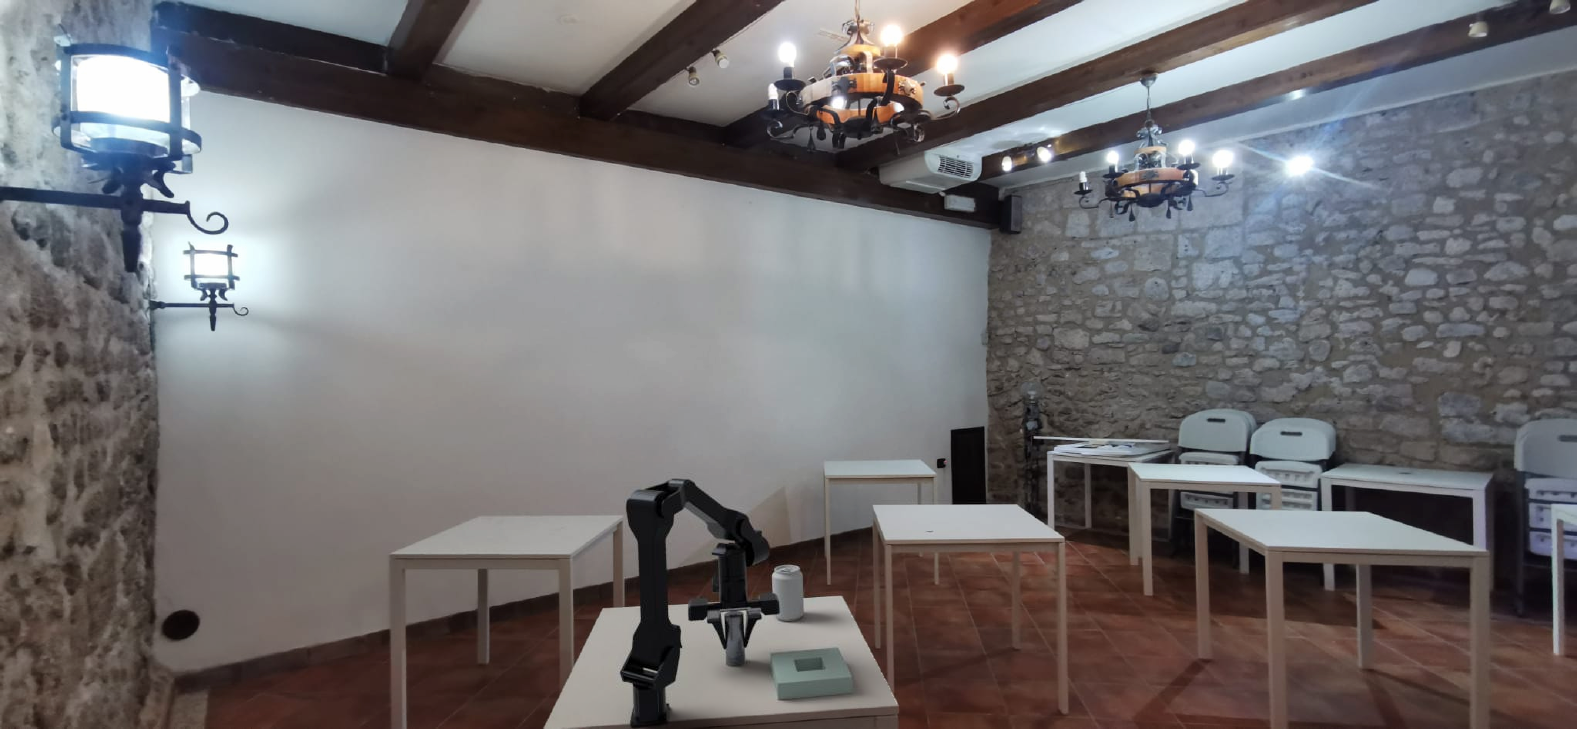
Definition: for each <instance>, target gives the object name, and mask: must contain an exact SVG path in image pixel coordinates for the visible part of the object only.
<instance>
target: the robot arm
mask: <svg viewBox="0 0 1577 729" xmlns="http://www.w3.org/2000/svg"><path fill="white" fill-rule="evenodd" d="M684 508H685V509H686V510H688V511H689V512H690V513H692V514H693V515H695V517H698V518H699V519H700V520H702V521H703V522H704V523H705V524H706V526H707V527H706V528H707V530H708V532H709V533H710V534H711V535H712V536H713V538H715V539H716V540H720V541H721V540H722V541H729V542H728V543H725V542H717V545H716V546H715V547H714V548H713V549H712V551H711V555H712V556H715V557H717V559H718V560H717V561H718V577H712V578H711V587H712V588H711V589H712V594H718V597H719V598H718V600H719V602H709V603H708V597H702V598H692V599H689V601H688V604H687V618H688V619H687V620H688V622H689V621H690V622H698V621H704V620H705V619H706V624H709V625H712V627H713V628H714V630H715V632H716V633H717V636H718V638H719V640H720V643H721V646H722V648H723V650H725V651H726V644H725V629H724V624H723V618H722V613H727V612H731V611H740V612H743V611H745V622H744V642H745V649H746V648H747V647H748V645H749V641H750V639H751V635H752V632H753V630H754V627H755V625H756V623H757V622H758V621H761V620H762V619H763V617H762V616H763V615H764V616H774V615H777V614H780V605H779V600H778V597H777V595H776V594H775V593H773V592H772V593H759V594H758V599H750V600H749V599H748V585H747V581H748V580H747V568H749V567H751V566H754V565H756V564H758V563H760V562H762V561H765V560H767V558H769V556H770V554H771V546H770V544H769V541H768V539H767V538H766V537H764V536H763V531H762V530H761V529H755V528H753V525H752V524H751V521H750V518H749V516H748V515H747V514H746V513H744V512H741V511H738V510H735V509H731V508H729V507H726V506H724V505H722V504H721V503H720V502H718V501H717V500H716V499H715V498H713V497H711V496H710V495H709V494H708V493H706V492H705V490H703V489H701V488H700V487H699V486H698V485H696V483H695V482H694V481H693V480H691V479H688V478H676V477H675V478H671V479H669V480H666V481H665V482H663V483H659V484H656V485H652V486H648V487H646V488H643V489H635V490H634V491H633V492H632V493H631V494H630V496H629V497H628V498H627V499H626V503H625V511H626V517H627V524H628V527H629V529H630V531H631V532H632V534H633V536H634V538H635V539H636V542H637V560H638V583H639V584H638V587H639V609H640V610H639V613H640V616H639V617H640V619H639V620H640V622H639V623H638V625H637V627H636V629H635V631H634V632H633V634H632V644H631V649H630V651H629V653H628V655H627V658H626V660H625V661H624V663H623V665H622V668H621V669H620V671H619V675H620V677H621V680H622V682H623V683H628V684H632V700H633V701H632V704H633V705H632V710H631V716H630V720H629V721H630V722H629V726H630V727H639V726H650V725H651V726H652V725H660V724H661V725H662V724H667V723H668V722H669V715H670V703H669V702H668V703H667V692H666V690H667V689H666V688H667V687H669V686H670V685H672V684H674V683H675V682H676V681H677V680H676V679H677V675H678V671H679V670H678V669H679V662H680V657H681V649H682V650H683V644H682V640H681V639H682V637H681V636H682V629H681V626H680V625H678V624H674V623H672V621H671V620H670V617H669V597H668V596H669V595H668V594H669V593H668V568H667V567H668V564H667V541H666V540H667V537H668V535H669V533H670V532H671V529H672V528H673V526H674V523H675V522H674V521H675V515H676V514H678V513H680V512H682V511H683V510H684ZM762 614H763V615H762Z"/></svg>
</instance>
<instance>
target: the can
mask: <svg viewBox="0 0 1577 729" xmlns="http://www.w3.org/2000/svg"><path fill="white" fill-rule="evenodd" d="M773 570H774V572H773V573H772V575H771V583H772V585H771V586H772V587H771V588H772V593H775V594H776V595H777V597H778V600H779V605H780V614H777V615H773V616H774V617H775V618H776V619H777V620H779V621H780V622H793V621H797V620H799V619H801V617H803V615H804V613H805V606H804V583H803V582H804V580H803V578H804V577H803V573H802V571H801V568H800V567H799V566H797V565H793V564H784V565H779V566H776V567H775V568H774V569H773Z"/></svg>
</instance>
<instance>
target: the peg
mask: <svg viewBox="0 0 1577 729" xmlns="http://www.w3.org/2000/svg"><path fill="white" fill-rule="evenodd" d="M744 635H745V619H744V612H743V611H730V612H724V636H725V644H726V649H725V664H726V665H727V666H728V667H732V668H734V667H740V666H741V667H742V666H743V665H745V663H746V648H745V642H744Z"/></svg>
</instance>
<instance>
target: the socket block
mask: <svg viewBox="0 0 1577 729" xmlns="http://www.w3.org/2000/svg"><path fill="white" fill-rule="evenodd" d="M770 670H771V675H772V677H773V678H772V679H773V683H774V688H775V691H776V692H775V693H776V696H777V700H778V701H779V700H780V701H781V700H791V699H801V698H813V697H814V698H815V697H821V696H822V697H823V696H834V695H844V694H853V693H854V690H853V687H854V686H853V675H852V673H851V672H850V670H849V668H848V665H847V663H846V661H845V659H844V656H843V654H842V652H841V650H840V648H839V647H828V648H827V647H826V648H825V647H823V648H812V649H803V650H801V649H800V650H789V651H779V652H778V651H777V652H770Z"/></svg>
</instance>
